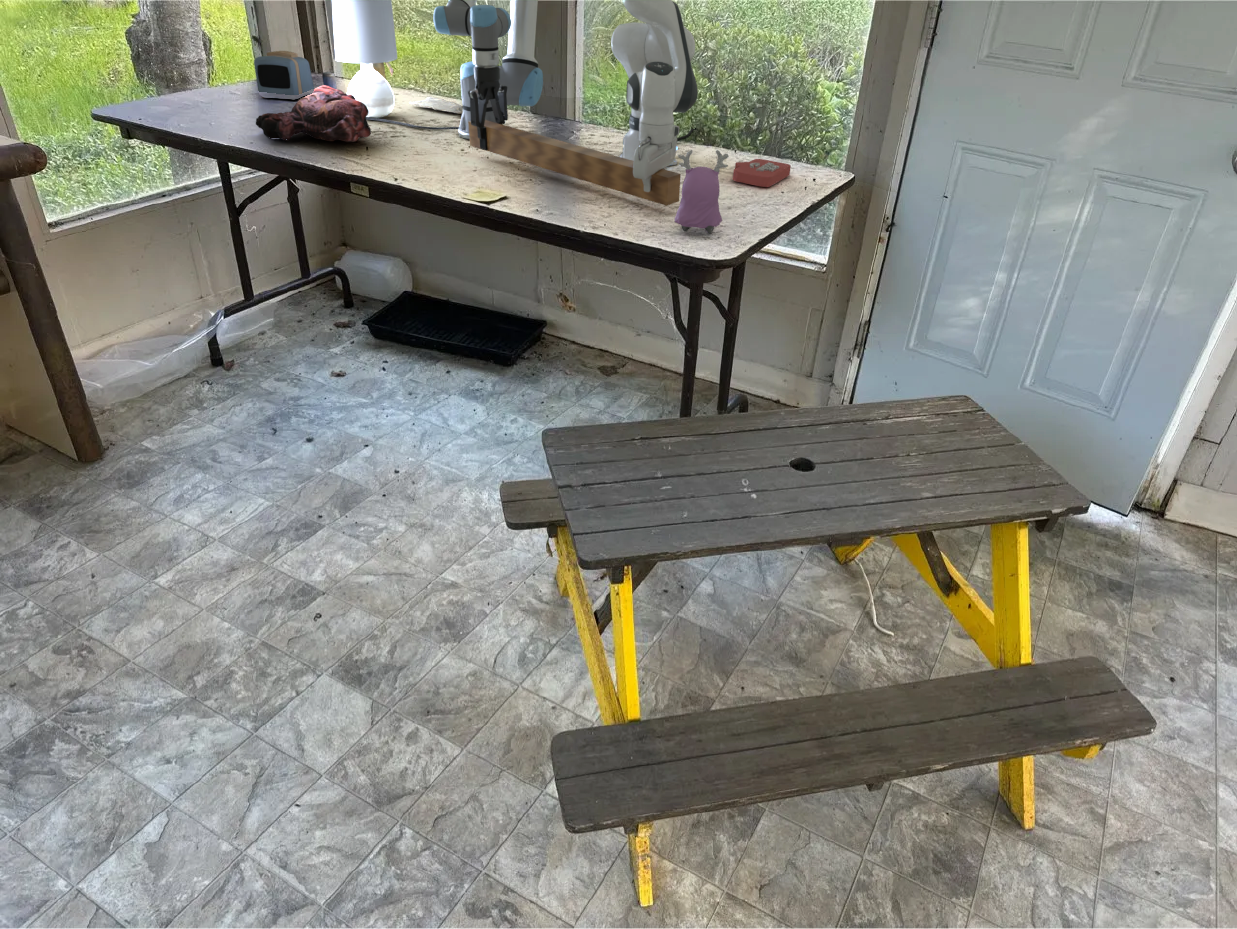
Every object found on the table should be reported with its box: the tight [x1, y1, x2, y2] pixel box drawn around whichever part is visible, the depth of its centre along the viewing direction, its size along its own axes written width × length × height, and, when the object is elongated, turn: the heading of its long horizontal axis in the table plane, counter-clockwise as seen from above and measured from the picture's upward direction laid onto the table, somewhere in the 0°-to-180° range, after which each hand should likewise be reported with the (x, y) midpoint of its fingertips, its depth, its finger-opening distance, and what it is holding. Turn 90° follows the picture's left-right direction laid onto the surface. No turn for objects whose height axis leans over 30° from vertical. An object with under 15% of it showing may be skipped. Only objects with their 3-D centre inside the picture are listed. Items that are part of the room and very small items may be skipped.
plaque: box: [732, 158, 792, 188], centre depth 254 cm, size 18×4×15 cm
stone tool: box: [408, 96, 463, 115], centre depth 318 cm, size 11×3×25 cm
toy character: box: [674, 149, 730, 234], centre depth 207 cm, size 12×10×20 cm
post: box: [468, 120, 682, 207], centre depth 242 cm, size 79×5×7 cm, turn 48°
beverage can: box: [321, 71, 338, 90], centre depth 314 cm, size 9×8×12 cm
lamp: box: [324, 0, 398, 119], centre depth 295 cm, size 22×22×40 cm
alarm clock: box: [253, 50, 315, 95], centre depth 326 cm, size 16×16×16 cm
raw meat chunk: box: [255, 84, 372, 143], centre depth 275 cm, size 43×30×13 cm
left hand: (491, 147), depth 261 cm, fingers closed on post, 5 cm apart
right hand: (653, 187), depth 225 cm, fingers closed on post, 6 cm apart
